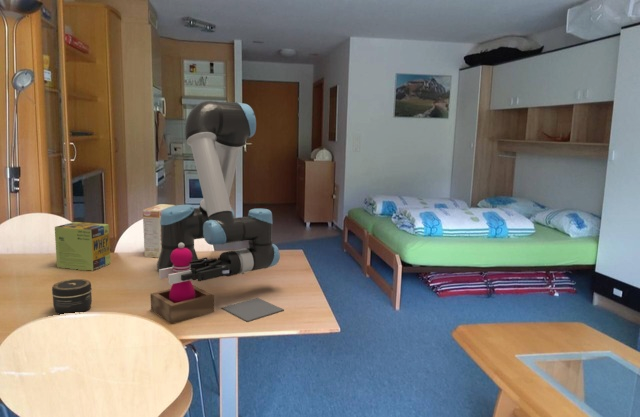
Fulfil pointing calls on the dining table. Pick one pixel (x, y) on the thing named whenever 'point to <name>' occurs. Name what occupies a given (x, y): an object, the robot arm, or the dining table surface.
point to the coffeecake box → (153, 230)
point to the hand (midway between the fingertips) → (164, 276)
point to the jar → (72, 296)
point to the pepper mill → (181, 263)
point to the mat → (252, 309)
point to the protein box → (82, 245)
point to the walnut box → (182, 305)
